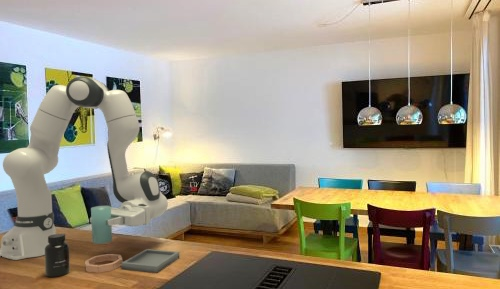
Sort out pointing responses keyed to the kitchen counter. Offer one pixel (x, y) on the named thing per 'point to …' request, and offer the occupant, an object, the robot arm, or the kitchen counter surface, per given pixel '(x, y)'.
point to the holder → (105, 267)
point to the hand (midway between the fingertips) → (99, 221)
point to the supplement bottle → (57, 256)
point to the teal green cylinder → (101, 224)
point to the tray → (150, 260)
